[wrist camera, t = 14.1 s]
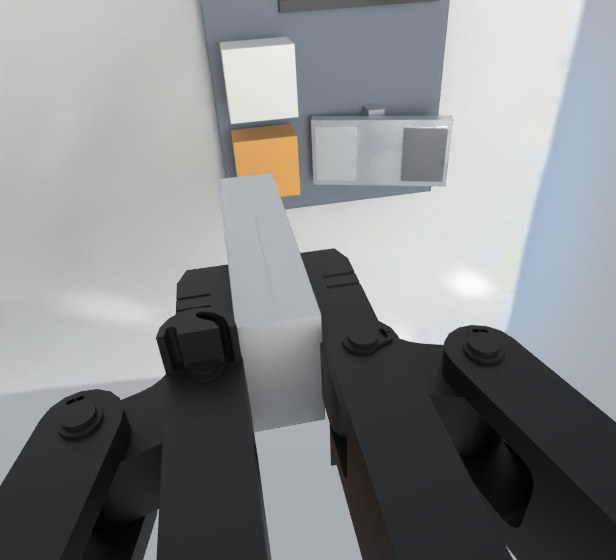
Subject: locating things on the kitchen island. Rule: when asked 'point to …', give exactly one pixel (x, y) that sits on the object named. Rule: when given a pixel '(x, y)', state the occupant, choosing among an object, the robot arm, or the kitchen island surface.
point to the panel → (337, 70)
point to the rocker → (381, 150)
